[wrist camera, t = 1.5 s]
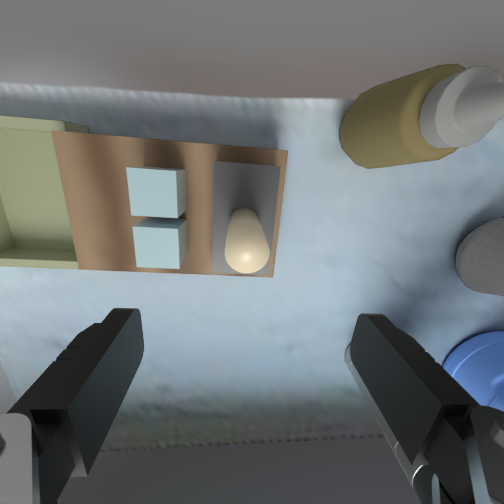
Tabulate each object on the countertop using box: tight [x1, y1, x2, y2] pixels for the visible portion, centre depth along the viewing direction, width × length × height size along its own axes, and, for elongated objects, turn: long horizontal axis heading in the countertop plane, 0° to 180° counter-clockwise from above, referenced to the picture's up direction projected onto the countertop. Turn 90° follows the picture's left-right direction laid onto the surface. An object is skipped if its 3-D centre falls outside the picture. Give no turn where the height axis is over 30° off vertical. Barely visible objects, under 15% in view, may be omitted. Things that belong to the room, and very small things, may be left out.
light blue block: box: [132, 217, 188, 269], centre depth 24 cm, size 4×4×4 cm
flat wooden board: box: [51, 130, 288, 277], centre depth 28 cm, size 22×14×6 cm, turn 86°
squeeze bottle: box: [339, 64, 504, 169], centre depth 20 cm, size 8×8×18 cm
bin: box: [0, 116, 89, 269], centre depth 27 cm, size 12×16×4 cm
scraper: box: [212, 161, 281, 275], centre depth 21 cm, size 6×11×10 cm, turn 176°
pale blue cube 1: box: [126, 166, 187, 218], centre depth 22 cm, size 4×4×4 cm
